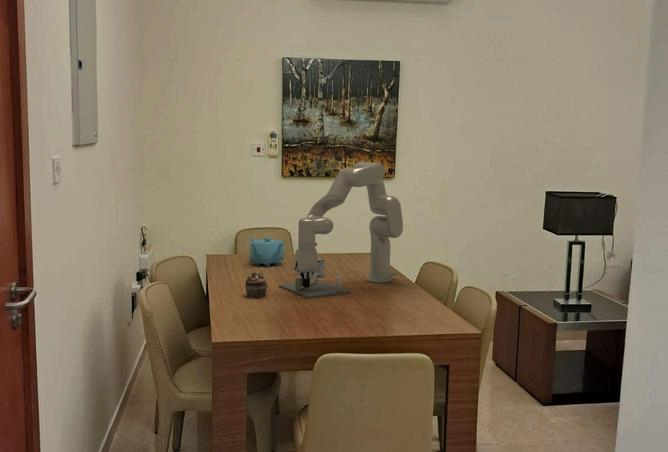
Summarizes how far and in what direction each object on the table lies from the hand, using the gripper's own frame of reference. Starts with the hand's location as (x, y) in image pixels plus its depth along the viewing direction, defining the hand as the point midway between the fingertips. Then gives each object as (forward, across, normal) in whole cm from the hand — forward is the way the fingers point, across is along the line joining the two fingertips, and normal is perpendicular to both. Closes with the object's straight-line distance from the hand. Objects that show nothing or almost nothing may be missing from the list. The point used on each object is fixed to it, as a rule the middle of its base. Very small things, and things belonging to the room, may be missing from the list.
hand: (306, 286), depth 284 cm
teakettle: (+3, -15, -65) cm, 67 cm away
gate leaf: (+1, -4, -6) cm, 8 cm away
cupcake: (+3, +22, -5) cm, 23 cm away
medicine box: (+3, -23, -28) cm, 36 cm away
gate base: (+3, -6, -2) cm, 7 cm away
